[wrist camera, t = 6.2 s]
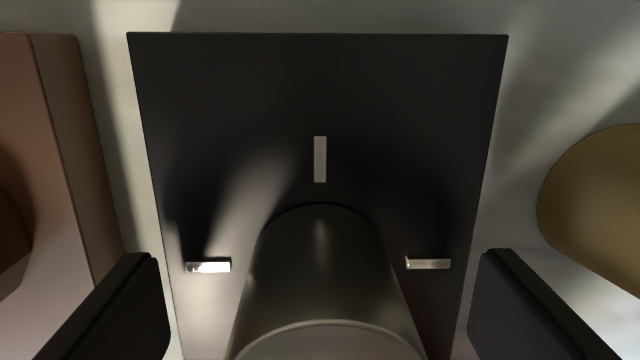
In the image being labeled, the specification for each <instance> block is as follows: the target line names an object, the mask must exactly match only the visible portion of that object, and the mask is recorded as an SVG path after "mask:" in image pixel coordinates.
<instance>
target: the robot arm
mask: <svg viewBox="0 0 640 360" xmlns="http://www.w3.org/2000/svg"><path fill="white" fill-rule="evenodd" d="M467 335H468V338H469V340H470V342H471V344H472V346H473V347H474V349H475V351H476V353H477V355H478V357H479V358H480V360H622V359H621V358H620V357H619V356H618V355H617V354H616V353H615V352H614V351H613V350H612V349H611V348H610V347H609V346H608V345H607V344H606V343H605V342H604V341H603V340H602V339H601V338H600V337H599V336H598V335H597V334H596V333H595V332H594V331H593V330H592V329H591V328H590V327H589V326H588V325H587V324H586V323H585V322H584V321H583V320H582V319H581V318H580V317H579V316H578V315H577V314H576V313H575V312H574V311H573V310H572V309H571V308H570V307H569V306H568V305H567V304H566V303H565V302H564V301H563V300H562V299H561V298H560V297H559V296H558V295H557V294H556V293H555V292H554V291H553V290H552V289H551V288H550V287H549V286H548V285H547V284H546V283H545V282H544V281H543V280H542V279H541V278H540V277H539V276H538V275H537V274H536V273H535V272H534V271H533V270H532V269H531V268H530V267H529V266H528V265H527V264H526V263H525V262H524V261H523V260H522V259H521V258H520V257H519V256H518V255H517V254H516V253H515V252H514V251H513V250H512V249H511V248H490V249H488V250H487V251H486V253H483V254H482V255H481V257H480V261H479V266H478V271H477V276H476V282H475V287H474V292H473V297H472V302H471V307H470V312H469V317H468V323H467ZM170 338H171V331H170V325H169V320H168V314H167V309H166V304H165V298H164V293H163V287H162V282H161V277H160V271H159V266H158V261H157V259H156V258H155V257H151V255H150V253H148V252H137V253H125V254H124V255H123V256H122V257H121V259H120V260H119V261H118V262H117V263H116V264H115V265H114V267H113V268H112V269H111V270H110V271H109V272H108V273H107V274H106V276H105V277H104V278H103V279H102V280H101V281H100V282H99V284H98V285H97V286H96V287H95V288H94V289H93V290H92V292H91V293H90V294H89V295H88V296H87V297H86V298H85V299H84V301H83V302H82V303H81V304H80V305H79V306H78V307H77V309H76V310H75V311H74V312H73V313H72V314H71V315H70V317H69V318H68V319H67V320H66V321H65V322H64V323H63V324H62V326H61V327H60V328H59V329H58V330H57V331H56V332H55V334H54V335H53V336H52V337H51V338H50V339H49V340H48V342H47V343H46V344H45V345H44V346H43V347H42V348H41V350H40V351H39V352H38V353H37V354H36V355H35V356H34V357H33V359H32V360H162V359H163V357H164V355H165V353H166V350H167V348H168V346H169V343H170Z"/></svg>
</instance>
